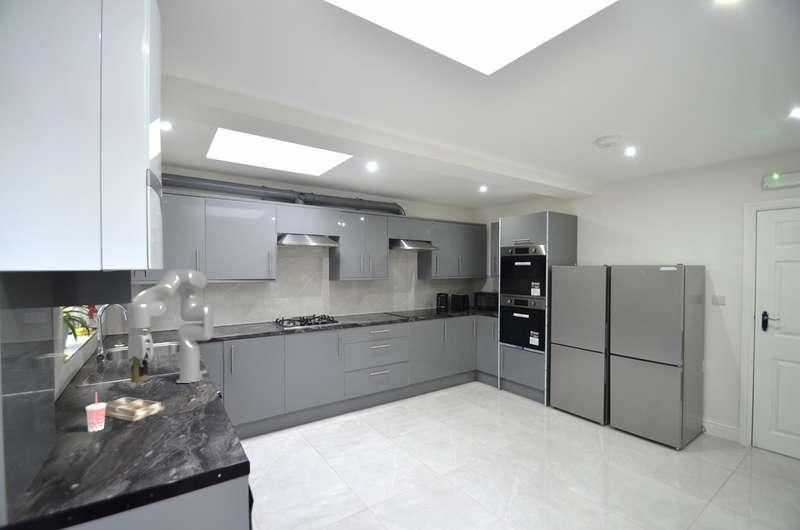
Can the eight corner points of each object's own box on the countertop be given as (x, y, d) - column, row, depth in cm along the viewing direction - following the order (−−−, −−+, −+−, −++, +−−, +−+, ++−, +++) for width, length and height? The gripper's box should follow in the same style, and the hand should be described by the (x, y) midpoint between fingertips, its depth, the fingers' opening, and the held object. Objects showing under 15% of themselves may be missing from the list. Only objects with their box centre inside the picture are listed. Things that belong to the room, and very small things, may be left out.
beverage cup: (110, 427, 138) (110, 390, 138) (91, 433, 132) (91, 395, 132) (100, 424, 140) (100, 388, 140) (81, 431, 134) (81, 393, 135)
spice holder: (127, 403, 163) (127, 395, 163) (164, 409, 155) (164, 401, 155) (95, 414, 151) (95, 405, 151) (132, 421, 143) (132, 412, 143)
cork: (138, 382, 148) (139, 355, 148) (126, 381, 149) (127, 355, 149) (151, 378, 154) (151, 352, 154) (140, 377, 155) (140, 352, 155)
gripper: (162, 331, 152) (162, 374, 152) (135, 329, 158) (135, 371, 158) (144, 334, 145) (144, 379, 145) (117, 332, 151) (117, 375, 151)
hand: (139, 374), depth 151 cm, fingers closed on cork, 4 cm apart
